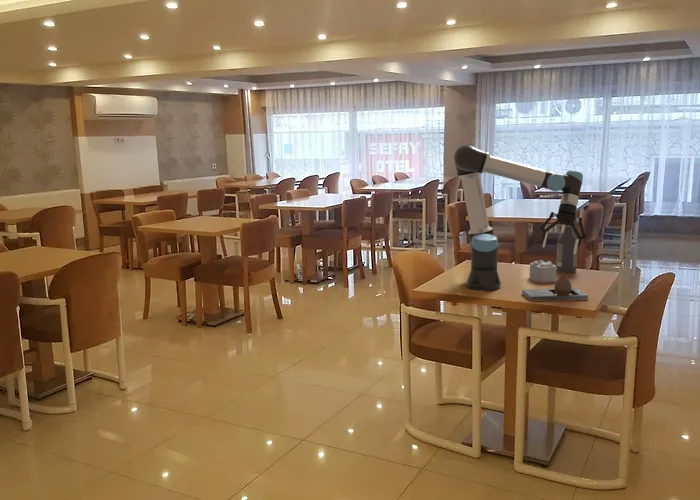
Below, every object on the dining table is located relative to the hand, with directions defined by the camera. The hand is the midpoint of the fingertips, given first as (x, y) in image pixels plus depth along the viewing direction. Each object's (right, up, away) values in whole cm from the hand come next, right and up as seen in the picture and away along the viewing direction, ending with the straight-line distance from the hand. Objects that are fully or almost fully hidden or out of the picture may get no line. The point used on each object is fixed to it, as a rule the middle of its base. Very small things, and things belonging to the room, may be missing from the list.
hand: (558, 250), depth 279 cm
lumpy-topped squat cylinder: (-2, -14, +19) cm, 24 cm away
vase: (-3, -20, -14) cm, 24 cm away
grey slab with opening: (-7, -20, -15) cm, 26 cm away
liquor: (+16, -11, +37) cm, 41 cm away
